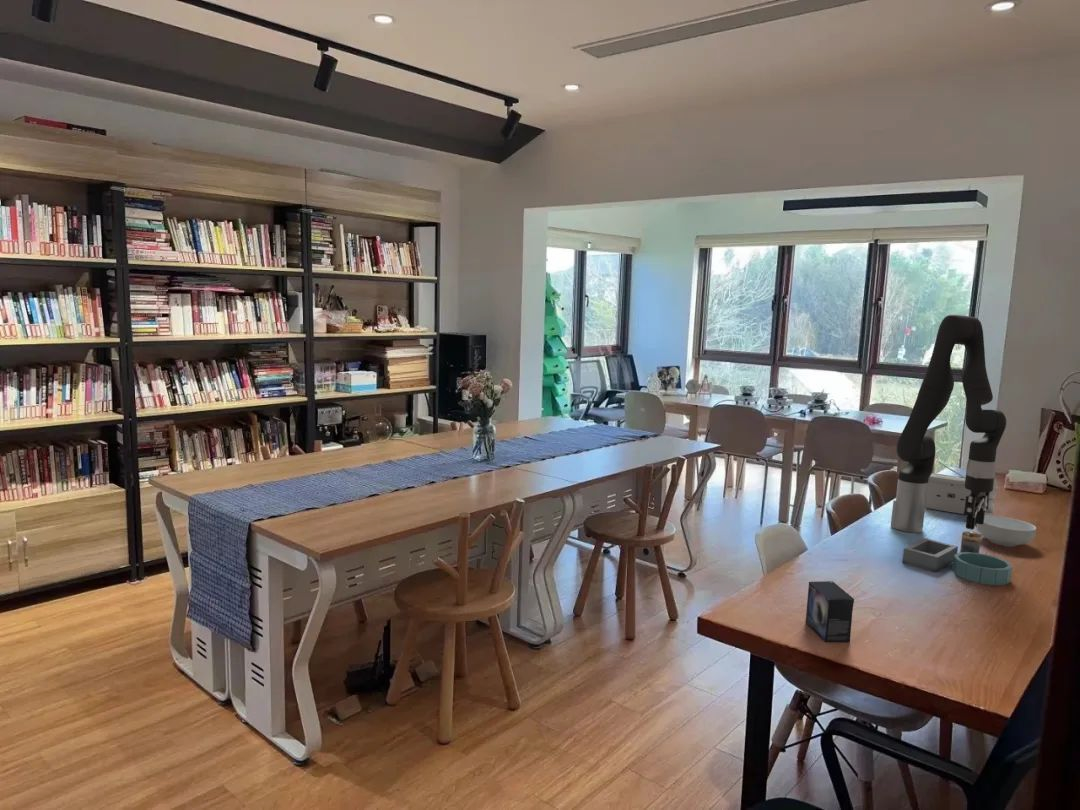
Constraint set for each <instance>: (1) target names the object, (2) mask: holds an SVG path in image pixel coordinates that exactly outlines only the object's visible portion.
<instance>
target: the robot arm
mask: <svg viewBox="0 0 1080 810" xmlns="http://www.w3.org/2000/svg"><path fill="white" fill-rule="evenodd" d="M984 339H985V337H984V329H983V325H982V322H981V320H980V319H979V318H977V317H975V316H971V315H962V314H953V313H952V314H951V313H950V314H948V315H946V316H945V317H944V318H943V319H942V320H941V323H940V325H939V326H938V330H937V334H936V337H935V341H934V345H933V350H932V353H931V354H932V355H931V357H930V360H929V363H928V366H927V368H926V372H925V374H924V377H923V379H922V382H921V384H920V387H919V390H918V393H917V396H916V400H915V402H914V405H913V408H912V409H911V412H910V415H909V417H908V420H907V422H906V424H905V426H904V428H903V430H902V432H901V434H900V435H899V437H898V440H897V444H896V453H897V454H896V455H897V456H898V457H899V459H900V460H902V461H903V462H907V464H906V465H905V466H904V467H903V468H902V469H900V470H899V472H898V477H897V487H896V496H895V499H894V500H893V502H892V508H891V509H892V511H891V520H890V527H891V528H893V529H896V530H897V531H900V532H905V533H911V534H912V533H913V534H917V533H922V532H923V531H924V530H923V528H924V520H925V514H926V508H925V505H926V497H927V488H928V480H929V477H930V475H931V473H933V470H934V469H933V468H934V464H935V460H934V459H935V458H936V457H935V456H936V444H935V441H934V439H933V437H931V436H930V435H929V434H926V432H927V431H928V429H929V427H930V425H931V424H932V423H933V421H935V419H936V418H937V417H938V416H939V415H940V414H941V413H942V411H944V409H945V407H946V406H947V404H948V403H949V400H950V398H951V395H952V393H953V390H954V386H955V377H954V374H953V371H952V366H951V356H952V355H953V354H952V353H953V350H954V347H955V346H956V345H961V346H963V347H964V349H965V351H966V353H967V360H966V364H965V367H964V369H963V371H962V379H961V381H962V382H961V383H962V387H963V391H964V395H965V399H966V404H965V406H966V407H965V418H964V419H965V425H966V427H967V429H968V430H969V431H971V432H972V433H977V434H980V433H981V434H983V436H982V437H981V438H978V439H975V440H972V441H971V442H970V444H969V449H968V450H969V452H968V460H967V463H966V469H965V488H966V489H968V490H970V491H971V494H970V495H969V496H966V501H965V509H964V514H963V515H964V516H966V522H965V528H966V529H968V530H971V531H972V530H974V529H975V527H976V525H977V524H981V525H982V524H984V517H985V513H986V509H987V510H988V508H989V507H988V506H989V495H990V492H992V491H993V486H994V478H996V477H995V476H996V458H997V449H998V446H999V445H1000V442H1001V440H1002V436H1003V434H1004V432H1005V429H1006V427H1007V418H1006V415H1005V413H1004V412H1002V411H1001V410H998V409H983V408H982V406H985V405H987V404H989V403H991V402H992V401H993V391H992V388H991V383H990V381H989V376H988V373H987V365H986V351H985V340H984ZM970 510H972V512H970ZM984 512H985V513H984ZM975 517H976V519H975Z"/></svg>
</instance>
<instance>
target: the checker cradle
mask: <svg viewBox="0 0 1080 810" xmlns="http://www.w3.org/2000/svg"><path fill="white" fill-rule="evenodd" d="M958 550H959V546H958V545H953V544H950V543H946V542H941V541H937V540H935V539H929V538H926V537H925V538H923V539H920V540H919V541H916V542H915V543H911V544H910V545H908V546H905V547H904V548H903V552H902V553H903V554H902V564H906V565H910V566H912V567H916V568H919V569H924V570H927V571H931V572H934V573H937V572H939V571H941V570H943V569H944V568H946V567H948V566H949V565H951V564H953V560H954V555H955V554H957V553H958Z"/></svg>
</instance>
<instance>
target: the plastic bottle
mask: <svg viewBox="0 0 1080 810" xmlns="http://www.w3.org/2000/svg"><path fill="white" fill-rule="evenodd" d="M998 486H999V485H998V482H997V480H996V477H994V486H993V491H992V492H990V495H989V506H988V507H989V508H988V510H987V509H986V513H985V512H984V513H985V515H988V516H995V515H994V507H995V506H994V503H995V499H996V494H997V490H998ZM975 519H976V517H975Z"/></svg>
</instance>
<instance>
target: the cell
mask: <svg viewBox="0 0 1080 810" xmlns="http://www.w3.org/2000/svg"><path fill="white" fill-rule="evenodd" d="M981 541H982V535H981V534H980V533H977V532H975V531H972V530H969V531H963V532H962V533H961V541H960V542H961V543H960V550H959V553H962V552H972V553H980V548H981Z"/></svg>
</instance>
